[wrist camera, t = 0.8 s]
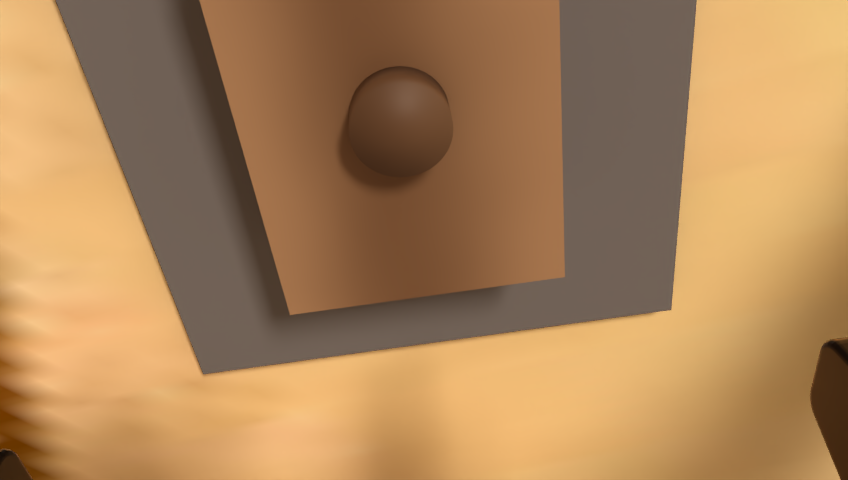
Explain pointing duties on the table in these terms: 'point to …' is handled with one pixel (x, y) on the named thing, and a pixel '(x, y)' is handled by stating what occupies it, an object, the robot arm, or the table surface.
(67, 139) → the table surface
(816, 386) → the robot arm
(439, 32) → the lid
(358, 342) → the mat
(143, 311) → the table surface
